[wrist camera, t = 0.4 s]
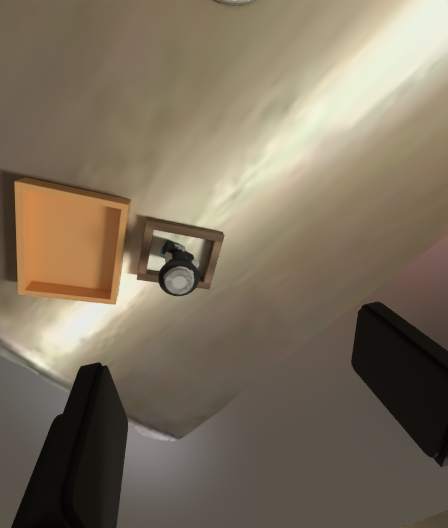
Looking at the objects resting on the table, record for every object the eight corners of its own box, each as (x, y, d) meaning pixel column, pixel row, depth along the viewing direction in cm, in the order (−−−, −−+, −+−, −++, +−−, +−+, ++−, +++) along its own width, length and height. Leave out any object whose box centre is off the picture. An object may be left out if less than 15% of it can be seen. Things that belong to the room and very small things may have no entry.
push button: (205, 249, 44) (216, 279, 36) (189, 275, 46) (195, 309, 37) (169, 230, 42) (171, 256, 33) (153, 257, 43) (150, 290, 34)
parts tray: (25, 177, 35) (14, 181, 32) (130, 199, 39) (128, 204, 36) (27, 283, 41) (18, 294, 38) (118, 294, 45) (115, 304, 42)
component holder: (146, 217, 40) (146, 220, 39) (222, 232, 44) (224, 235, 42) (137, 275, 44) (136, 279, 43) (207, 284, 47) (209, 289, 46)
